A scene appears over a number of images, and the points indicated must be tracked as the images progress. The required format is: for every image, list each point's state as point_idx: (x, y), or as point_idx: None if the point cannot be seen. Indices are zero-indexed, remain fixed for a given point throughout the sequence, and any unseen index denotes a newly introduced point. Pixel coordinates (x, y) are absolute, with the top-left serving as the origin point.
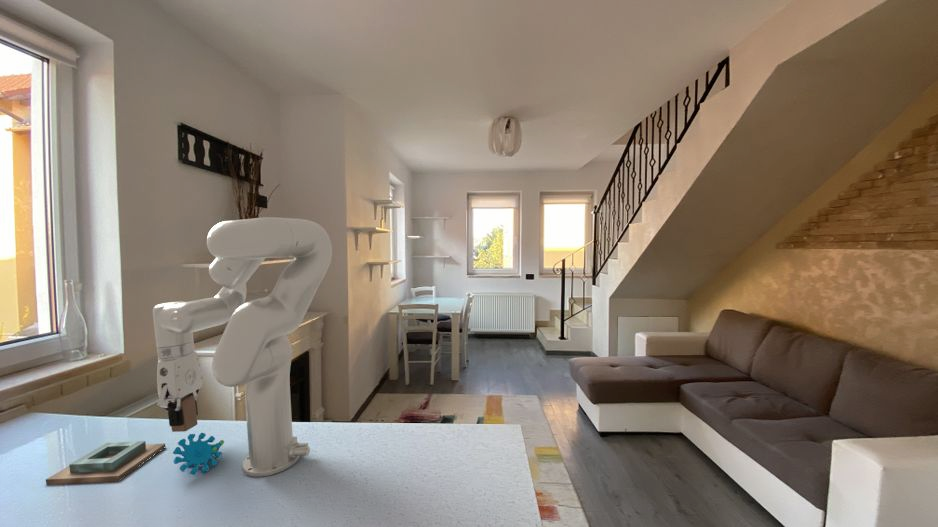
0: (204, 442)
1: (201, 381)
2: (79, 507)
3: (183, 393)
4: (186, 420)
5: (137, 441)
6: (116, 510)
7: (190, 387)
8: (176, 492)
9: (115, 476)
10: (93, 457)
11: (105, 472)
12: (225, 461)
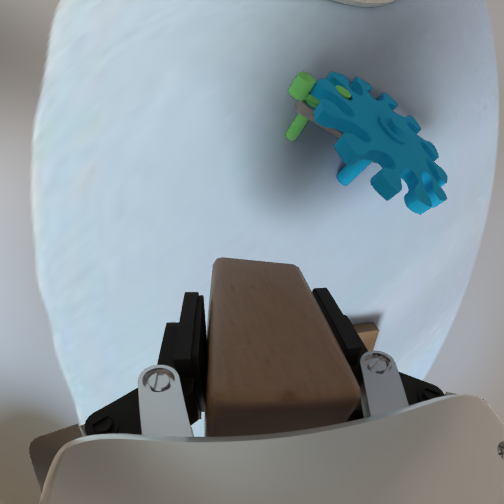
0: (363, 126)
1: (80, 486)
2: (437, 315)
3: (449, 423)
4: (302, 290)
5: None
6: (468, 236)
7: (350, 486)
8: (448, 140)
9: (376, 335)
10: None
11: None
12: (328, 65)
